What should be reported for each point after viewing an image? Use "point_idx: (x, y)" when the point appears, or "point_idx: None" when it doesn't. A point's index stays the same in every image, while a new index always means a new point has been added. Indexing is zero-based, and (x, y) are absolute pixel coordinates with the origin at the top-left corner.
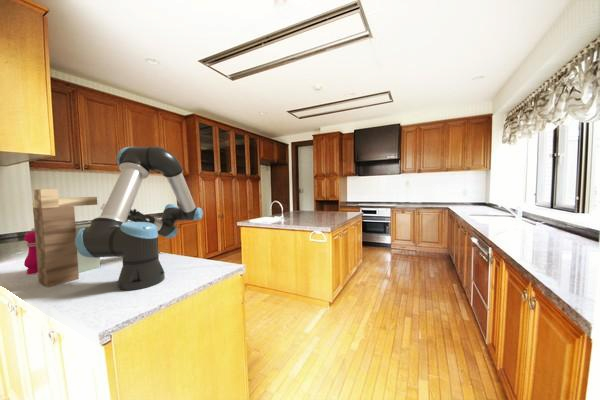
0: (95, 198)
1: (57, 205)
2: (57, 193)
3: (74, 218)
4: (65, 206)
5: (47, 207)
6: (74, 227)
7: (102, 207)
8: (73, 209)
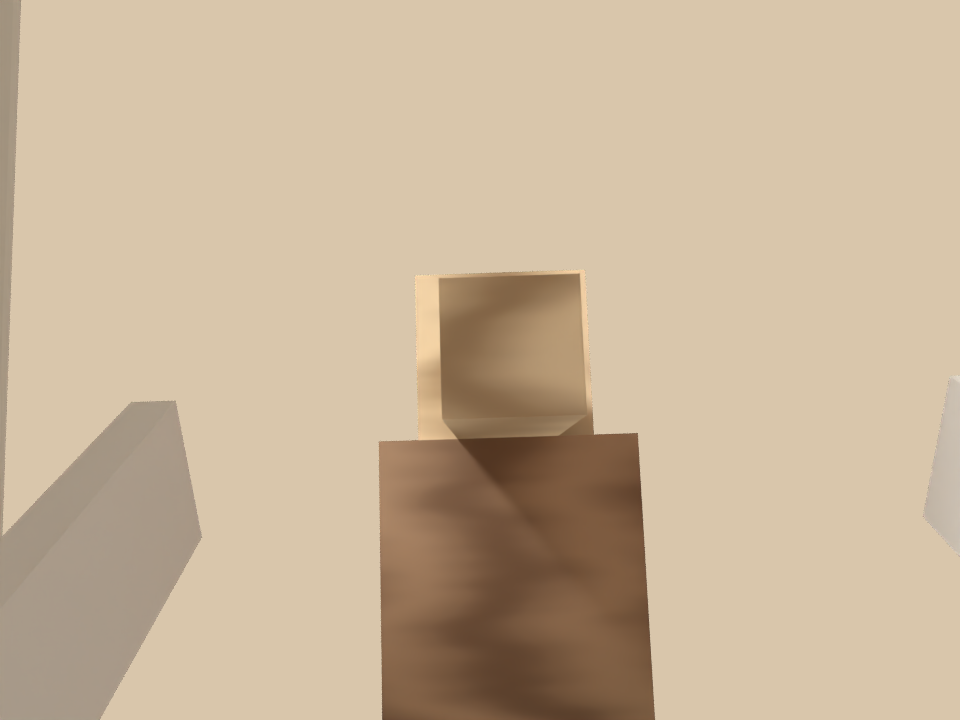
0: (440, 310)
1: (418, 430)
2: (416, 315)
3: (382, 587)
4: None
5: None
6: (384, 699)
7: (935, 485)
8: (381, 478)
